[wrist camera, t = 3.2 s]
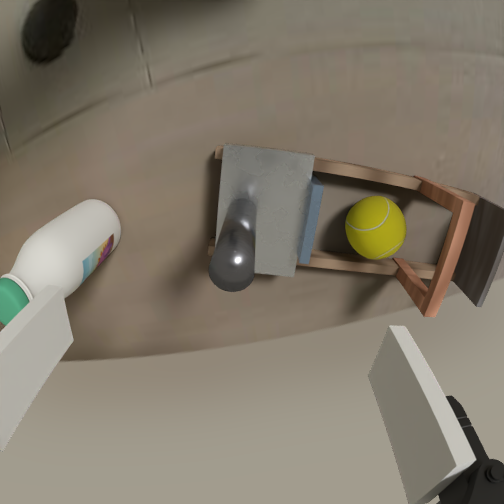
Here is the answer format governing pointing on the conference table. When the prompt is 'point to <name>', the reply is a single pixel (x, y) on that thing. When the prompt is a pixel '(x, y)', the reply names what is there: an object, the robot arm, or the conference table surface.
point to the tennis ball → (375, 227)
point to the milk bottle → (60, 255)
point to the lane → (359, 259)
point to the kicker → (263, 214)
